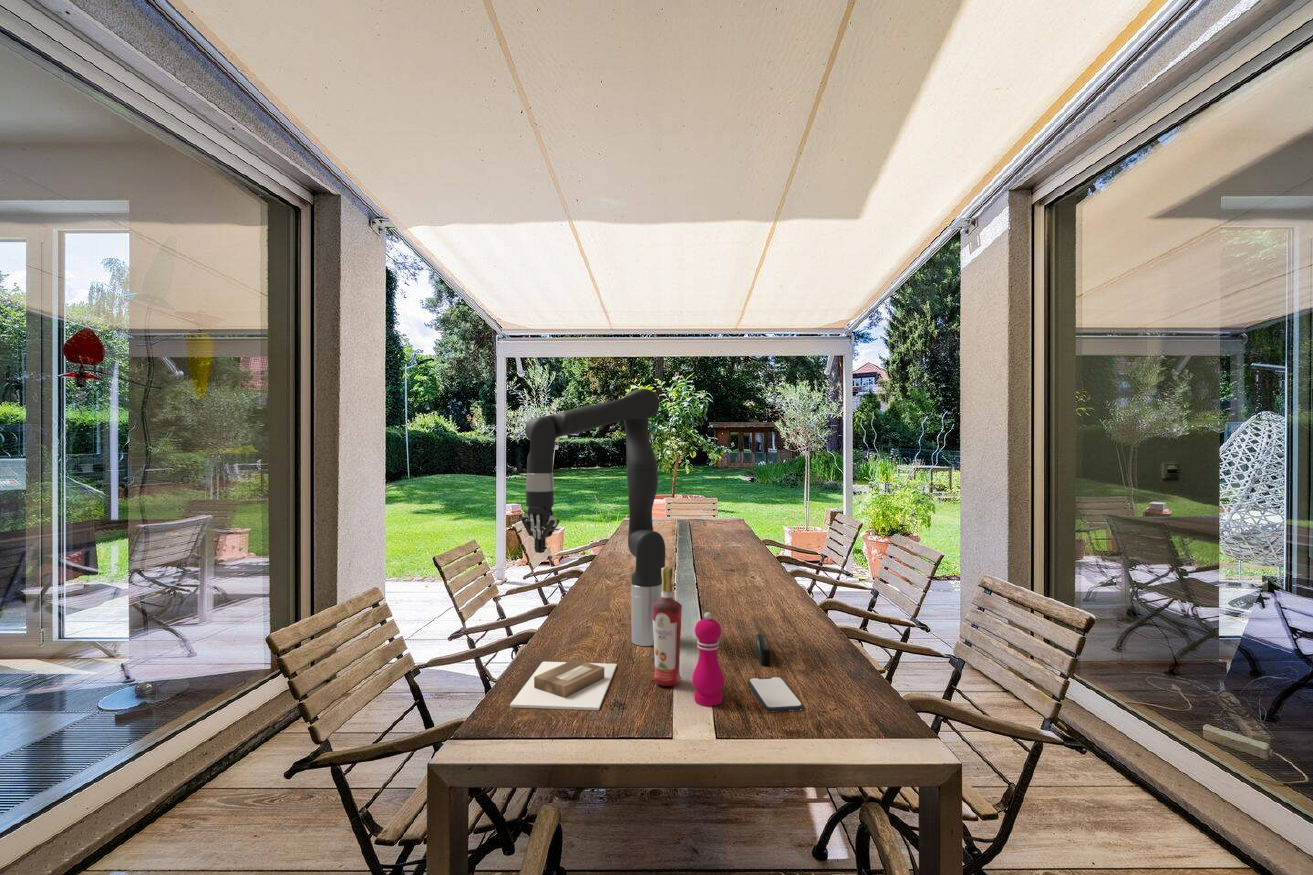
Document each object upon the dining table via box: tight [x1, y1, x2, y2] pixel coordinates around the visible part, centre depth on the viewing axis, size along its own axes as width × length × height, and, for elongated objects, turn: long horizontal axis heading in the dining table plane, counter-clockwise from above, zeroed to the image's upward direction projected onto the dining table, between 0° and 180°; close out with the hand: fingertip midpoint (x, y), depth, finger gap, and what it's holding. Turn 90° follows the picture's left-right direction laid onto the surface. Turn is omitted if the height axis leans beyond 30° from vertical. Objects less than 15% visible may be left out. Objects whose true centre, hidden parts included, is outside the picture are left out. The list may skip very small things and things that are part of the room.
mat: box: [509, 661, 618, 711], centre depth 140 cm, size 20×26×1 cm
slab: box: [534, 658, 604, 698], centre depth 140 cm, size 3×14×10 cm
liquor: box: [652, 566, 683, 687], centre depth 142 cm, size 7×7×28 cm
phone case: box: [747, 676, 804, 713], centre depth 134 cm, size 9×2×16 cm
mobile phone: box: [755, 633, 771, 667], centre depth 159 cm, size 5×3×15 cm
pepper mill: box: [692, 611, 725, 707], centre depth 132 cm, size 7×7×20 cm
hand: (539, 552), depth 159 cm, fingers closed
